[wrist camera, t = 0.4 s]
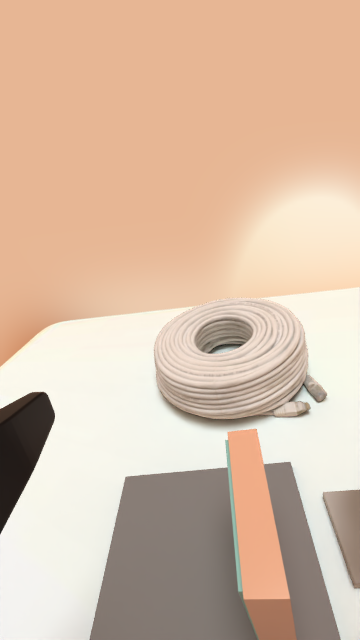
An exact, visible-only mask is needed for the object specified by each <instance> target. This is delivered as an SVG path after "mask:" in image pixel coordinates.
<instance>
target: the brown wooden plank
mask: <svg viewBox="0 0 360 640" xmlns="http://www.w3.org/2000/svg"><path fill="white" fill-rule="evenodd" d="M323 498H324V501H325V504H326V507H327V510H328V513H329V516H330V519H331V522H332V525H333V527H334V530H335V533H336V536H337V539H338V542H339V545H340V548H341V551H342V554H343V556H344V559H345V562H346V565H347V568H348V571H349V574H350V577H351V580H352V583H353V585H354V588H360V490H349V491H335V492H323Z"/></svg>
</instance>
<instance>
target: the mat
mask: <svg viewBox="0 0 360 640" xmlns="http://www.w3.org/2000/svg"><path fill="white" fill-rule="evenodd" d="M264 469H265V474H266V479H267V484H268V489H269V494H270V499H271V505H272V510H273V515H274V520H275V525H276V530H277V535H278V540H279V545H280V550H281V555H282V560H283V565H284V570H285V575H286V581H287V586H288V591H289V596H290V601H291V607H292V614H293V620H294V626H295V632H296V638H297V640H341V639H340V636H339V632H338V629H337V625H336V622H335V618H334V615H333V611H332V607H331V604H330V600H329V597H328V593H327V590H326V586H325V583H324V579H323V576H322V572H321V569H320V565H319V561H318V558H317V554H316V551H315V547H314V544H313V540H312V537H311V533H310V530H309V526H308V523H307V519H306V516H305V512H304V508H303V505H302V501H301V498H300V494H299V491H298V487H297V484H296V480H295V477H294V473H293V470H292V466H291V462H284V463H273V464H264ZM90 640H257V638H256V635H255V633H254V630H253V627H252V625H251V622H250V620H249V617H248V615H247V612H246V610H245V607H244V605H243V602H242V600H241V597H240V595H239V592H238V582H237V571H236V559H235V547H234V536H233V524H232V512H231V500H230V489H229V477H228V468H218V469H207V470H196V471H185V472H173V473H162V474H151V475H140V476H129V477H126V478H125V482H124V487H123V491H122V496H121V500H120V505H119V509H118V514H117V518H116V523H115V527H114V532H113V536H112V541H111V545H110V550H109V554H108V559H107V563H106V568H105V572H104V577H103V581H102V586H101V590H100V595H99V599H98V604H97V609H96V613H95V618H94V622H93V627H92V631H91V636H90Z"/></svg>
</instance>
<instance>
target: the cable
mask: <svg viewBox="0 0 360 640" xmlns="http://www.w3.org/2000/svg"><path fill="white" fill-rule="evenodd" d="M222 344H241V345H242V346H241V347H239V348H237V349H234V350H232V351H229V352H225V353H220V354H207V353H208V352H209V351H211V350H212V349H213V348H214V347H216V346H218V345H222ZM154 358H155V366H156V379H157V384H158V386H159V388H160V390H161V392H162V394H163V395H164V396H165V398H166V399H167V400H168V401H169V402H171V403H172V404H173V405H175V406H176V407H178V408H179V409H181V410H183V411H186V412H188V413H191V414H195V415H198V416H202V417H206V418H212V419H236V418H242V417H247V416H257V415H259V416H261V415H275V417H291V416H298V415H299V414H301V413H303V412H305V411H307V410H309V409H310V405H309V404H308V403H307V402H306V403H303V402H301V401H298V402H294V401H293V402H288V401H289V400H290V399H291V398H292V397H293V396H294V395H295V394H296V393H297V392H298V390H299V389H300V388H301V386H302V384H303V383H304V385H305V386H306V388H307V389H308V391H309V392H310V394H311V395H313V396H314V397H315V399H316V400H317V401H322V400H323V399H324V398H325V397H326V396H327V393H326V392H325V391H324V389H323V388H322V386H321V385H320V384H319V383H318V382H316V381H315V380H314V379H313V378H312V377H311V376H310V375H306V373H307V367H308V349H307V345H306V341H305V332H304V329H303V326H302V324H301V323H300V321H299V320H298V319H297V318H296V317H295V315H294V314H293V313H292V312H291V311H290V310H289V309H287V308H286V307H284V306H282V305H280V304H278V303H275V302H272V301H269V300H264V299H255V298H228V299H221V300H215V301H212V302H208V303H206V304H202V305H199V306H197V307H194V308H192V309H190V310H188V311H186V312H184V313H182V314H180V315H178V316H177V317H175V318H174V319H172V320H171V321H170V322H168V323H167V324H166V325H165V326H164V327H163V329H162V330H161V331H160V333H159V335H158V337H157V339H156V342H155V346H154Z"/></svg>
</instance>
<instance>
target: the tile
mask: <svg viewBox="0 0 360 640" xmlns="http://www.w3.org/2000/svg"><path fill="white" fill-rule="evenodd" d="M225 442H226V454H227V465H228V477H229V489H230V500H231V512H232V524H233V536H234V547H235V559H236V571H237V582H238V592H239V595H240V597H241V600H242V602H243V605H244V607H245V610H246V612H247V615H248V617H249V620H250V622H251V625H252V627H253V630H254V633H255V635H256V638H257V640H297V638H296V632H295V626H294V620H293V614H292V607H291V601H290V596H289V591H288V586H287V581H286V575H285V570H284V565H283V560H282V555H281V550H280V545H279V540H278V535H277V530H276V525H275V520H274V515H273V510H272V505H271V499H270V494H269V489H268V484H267V479H266V474H265V469H264V464H263V459H262V454H261V449H260V444H259V439H258V434H257V429H250V430H241V431H232V432H228V440H225Z"/></svg>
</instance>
